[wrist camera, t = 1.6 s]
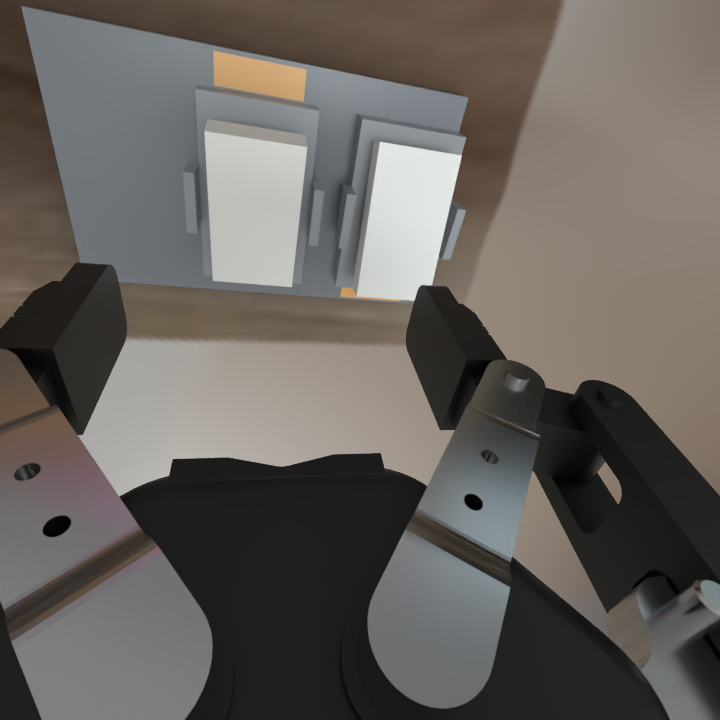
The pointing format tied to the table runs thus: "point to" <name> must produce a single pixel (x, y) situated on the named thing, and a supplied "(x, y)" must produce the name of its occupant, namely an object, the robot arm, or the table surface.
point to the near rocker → (253, 201)
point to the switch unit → (187, 146)
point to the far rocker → (403, 220)
